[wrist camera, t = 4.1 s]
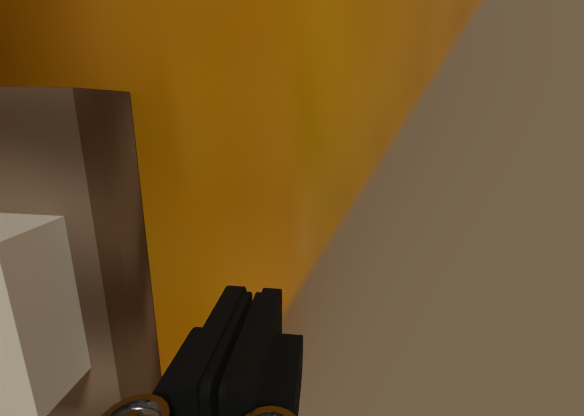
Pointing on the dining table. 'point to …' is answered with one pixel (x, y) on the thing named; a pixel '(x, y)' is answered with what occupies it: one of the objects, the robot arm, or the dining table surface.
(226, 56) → the dining table surface
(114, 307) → the brown sliding lid
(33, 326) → the tile
